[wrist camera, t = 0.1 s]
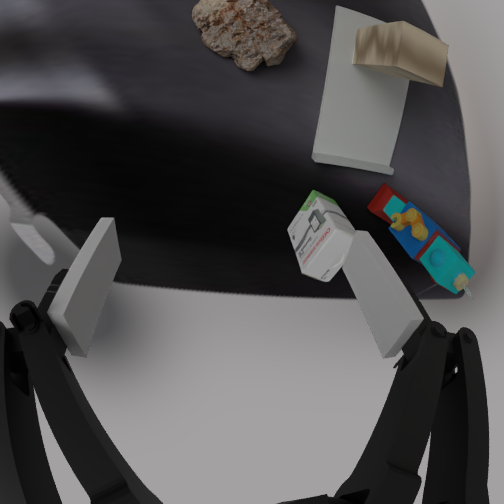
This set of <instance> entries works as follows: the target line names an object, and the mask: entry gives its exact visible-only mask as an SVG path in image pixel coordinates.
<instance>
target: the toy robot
mask: <svg viewBox="0 0 504 504" xmlns="http://www.w3.org/2000/svg"><path fill="white" fill-rule="evenodd" d="M367 208H368V209H369V210H370V211H371V212H372V213H374V214H375V215H377V216H379V217H380V218H382V219H383V220H385V221H386V222H388V223H390V224H391V226H390V227H389V230H390V231H391V232H392V234H393V235H394V236H395V237H396V239H397V240H398V241H399V242H400V244H401V245H402V246H403V248H404V249H405V250H406V251H407V253H408V254H409V255H410V257H411V258H412V259H414V260H415V261H417V262H419V263H420V264H422V265H424V267H425V268H426V269H427V271H428V272H429V273H430V275H431V280H432V281H433V282H434V283H435V284H440V285H441V286H442V287H443V288H444V289H448V290H450V291H451V292H453V293H455V294H457V293H458V292H459V291H460V290H462V289H464V290H465V288H466V286H467V284H468V281H469V279H470V278H471V277H472V276H473V275H474V273H475V271H474V270H473V269H472V268H471V266H470V265H469V264H468V263H467V261H466V260H465V259H464V258H463V257H462V256H461V254H460V250H461V249H460V248H459V247H458V245H457V244H456V243H455V242H454V241H453V240H452V239H451V238H450V237H449V236H448V235H447V234H446V233H445V232H444V231H443V229H442V228H441V227H440V226H439V225H438V224H437V223H435V222H434V221H433V220H432V219H431V218H430V217H428V216H427V215H426V214H425V213H424V212H422V211H421V210H420V209H419V208H417V207H416V206H415V205H414V204H412V203H411V202H410V201H408V200H406V199H405V198H404V197H402V196H401V195H400V194H398V193H397V192H396V191H394V190H393V189H392V188H390V187H389V186H387V185H386V184H385V183H384V184H383V185H382V186H381V188H380V189H379V191H378V192H377V194H376V195H375V196H374V198H373V199H372V201H371V202H370V204H369V205H368V206H367ZM466 289H467V288H466ZM467 290H468V289H467ZM465 291H466V290H465ZM468 291H469V290H468ZM466 292H467V291H466ZM469 292H470V291H469ZM470 293H471V292H470ZM467 294H468V293H467ZM468 295H469V294H468ZM471 295H472V294H471ZM469 296H470V295H469ZM470 297H471V296H470ZM471 298H472V297H471ZM472 299H474V297H473V298H472Z"/></svg>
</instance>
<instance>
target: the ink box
mask: <svg viewBox="0 0 504 504" xmlns="http://www.w3.org/2000/svg"><path fill="white" fill-rule="evenodd" d="M287 230H288V233H289V236H290V238H291V242H292V244H293V247H294V250H295V253H296V256H297V259H298V262H299V265H300V268H301V271H302V274H305V275H307V276H310V277H313V278H316V279H318V280H321V281H324V282H328V281H330V280H331V279H332V277H333V276H334V275H335V274H336V273H337V272H338V270H339V269H340V268H341V267H342V266H343V264H344V263H345V260H346V257H347V255H348V252H349V249H350V246H351V244H352V241H353V238H354V235H355V232H356V231H355V229H354V228H353V226H352V225H351V223H350V222H349V220H348V219H347V217H346V216H345V215H344V213H343V212H342V210H341V209H340V208H339V206H338V205H337V203H336V202H335V201H334V200H333V199H331V198H329V197H327V196H325V195H323V194H321V193H319V192H317V191H315V190H313V191H312V192H311V194H310V195H309V197H308V198H307V200H306V201H305V203H304V204H303V206H302V208H301V209H300V211H299V212H298V214H297V215H296V217H295V218H294V220H293V221H292V223H291V224H290V226H289V227H288V229H287Z"/></svg>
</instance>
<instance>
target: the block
mask: <svg viewBox="0 0 504 504" xmlns="http://www.w3.org/2000/svg"><path fill="white" fill-rule="evenodd" d="M447 53H448V45H447V44H445V43H444V42H442V41H440V40H439V39H437V38H435V37H434V36H432V35H430V34H428V33H426V32H425V31H423V30H421V29H419V28H417V27H415V26H413V25H411V24H409V23H407V22H405V21H398V22H391V23H385V24H379V25H374V26H368V27H363V28H359V29H357V32H356V39H355V46H354V53H353V60H352V64H354V65H358V66H361V67H364V68H367V69H370V70H374V71H376V72H379V73H382V74H385V75H388V76H391V77H396V78H401V79H407V80H412V81H417V82H422V83H427V84H431V85H435V86H439V87H442V86H443V80H444V74H445V68H446V61H447Z"/></svg>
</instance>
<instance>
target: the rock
mask: <svg viewBox="0 0 504 504" xmlns="http://www.w3.org/2000/svg"><path fill="white" fill-rule="evenodd" d="M192 18H193V21H194V22H195V23H196V26H197V27H198V28H197V30H202V32H203V33H202V36H201V37H200V38H201V40H202V41H203V44H204V45H205V46H207V47H209V48H210V49H211V50H212V51H213V52H215V53H218V54H219V55H221V56H223V57H232V58H233V59H234V61H235V63H236V65H237V66H238V67H240V68H241V69H244V70H246V71H253V70H255V68H257V66H258V65H259V64H260V63H262V62H263V61H264V62H265V63H266V65H267V66H272V65H279V64H280V63H281V61H282V60H283V59H284V56H285V54H286V52H287V51H288V50H289V49H290V47H291V46H292V45H293V44H294V43H295V42H296V41H297V39H298V37H297V35H296V33H295V32H294V29H292V28H291V27H290V26H289V25H288V24H287V23H286V22H285V21H284V20H283V18H282V16H281V14H280V12H279V11H278V10H276V9H275V8H274V7H273V6H272V5H271V4H270V3H269V1H268V0H200V2H199V3H197V4H196V5H195V6H194V8H193V11H192Z"/></svg>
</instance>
